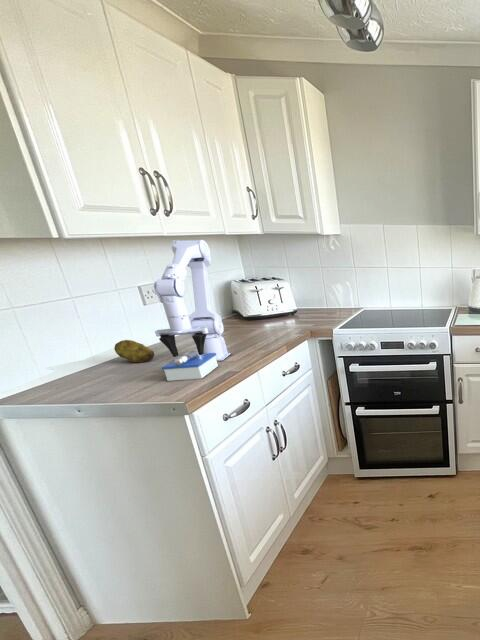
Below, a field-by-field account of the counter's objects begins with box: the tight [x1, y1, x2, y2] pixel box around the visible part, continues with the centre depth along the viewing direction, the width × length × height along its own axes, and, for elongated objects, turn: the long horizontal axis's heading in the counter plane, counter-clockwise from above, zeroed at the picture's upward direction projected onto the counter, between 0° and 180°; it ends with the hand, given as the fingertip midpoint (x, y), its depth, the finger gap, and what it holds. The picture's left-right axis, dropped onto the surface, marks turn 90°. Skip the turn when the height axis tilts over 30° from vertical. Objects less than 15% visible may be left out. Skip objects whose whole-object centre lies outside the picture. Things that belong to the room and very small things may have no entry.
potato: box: [113, 339, 155, 363], centre depth 158 cm, size 8×13×8 cm, turn 65°
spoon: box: [174, 349, 205, 366], centre depth 142 cm, size 16×5×3 cm, turn 15°
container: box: [161, 353, 219, 382], centre depth 144 cm, size 15×11×5 cm
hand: (188, 355), depth 142 cm, fingers open, 7 cm apart
